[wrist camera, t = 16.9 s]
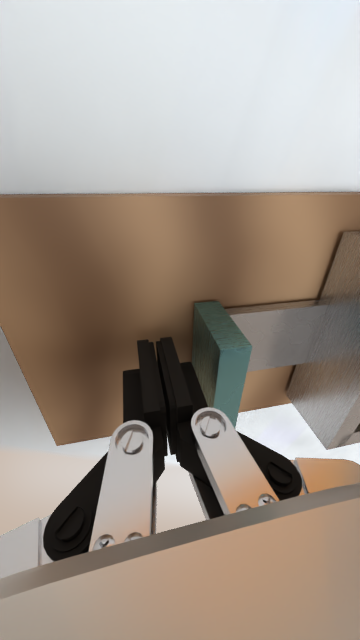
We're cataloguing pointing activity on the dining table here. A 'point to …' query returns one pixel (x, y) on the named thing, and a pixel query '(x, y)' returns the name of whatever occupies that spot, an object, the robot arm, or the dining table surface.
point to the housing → (291, 350)
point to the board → (149, 284)
